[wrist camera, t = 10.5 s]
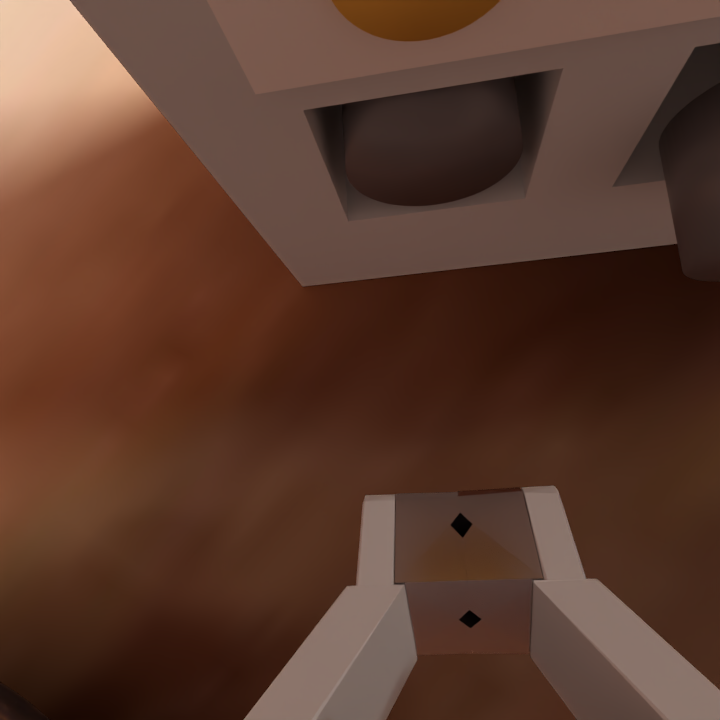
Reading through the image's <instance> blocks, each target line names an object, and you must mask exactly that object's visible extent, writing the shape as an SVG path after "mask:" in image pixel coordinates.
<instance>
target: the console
mask: <svg viewBox="0 0 720 720" xmlns="http://www.w3.org/2000/svg"><path fill="white" fill-rule="evenodd" d="M70 1H71V2H72V4H73V5H74V6H75V7H76V9H77V10H78V11H79V12H80V13H81V15H82V16H83V17H84V18H85V20H86V21H87V22H88V23H89V25H90V26H91V27H92V28H93V29H94V31H95V32H96V33H97V34H98V36H99V37H100V38H101V39H102V41H103V42H104V43H105V44H106V45H107V47H108V48H109V49H110V50H111V52H112V53H113V54H114V55H115V57H116V58H117V59H118V60H119V61H120V63H121V64H122V65H123V66H124V68H125V69H126V70H127V71H128V73H129V74H130V75H131V76H132V77H133V79H134V80H135V81H136V82H137V84H138V85H139V86H140V87H141V89H142V90H143V91H144V92H145V93H146V95H147V96H148V97H149V98H150V100H151V101H152V102H153V103H154V105H155V106H156V107H157V108H158V109H159V111H160V112H161V113H162V114H163V116H164V117H165V118H166V119H167V121H168V122H169V123H170V124H171V125H172V127H173V128H174V129H175V130H176V132H177V133H178V134H179V135H180V137H181V138H182V139H183V140H184V141H185V143H186V144H187V145H188V146H189V148H190V149H191V150H192V151H193V152H194V154H195V155H196V156H197V157H198V159H199V160H200V161H201V162H202V164H203V165H204V166H205V167H206V168H207V170H208V171H209V172H210V173H211V175H212V176H213V177H214V178H215V180H216V181H217V182H218V183H219V184H220V186H221V187H222V188H223V189H224V191H225V192H226V193H227V194H228V196H229V197H230V198H231V199H232V200H233V202H234V203H235V204H236V205H237V207H238V208H239V209H240V210H241V212H242V213H243V214H244V215H245V216H246V218H247V219H248V220H249V221H250V223H251V224H252V225H253V226H254V228H255V229H256V230H257V231H258V232H259V234H260V235H261V236H262V237H263V239H264V240H265V241H266V242H267V244H268V245H269V246H270V247H271V248H272V250H273V251H274V252H275V253H276V255H277V256H278V257H279V258H280V260H281V261H282V262H283V263H284V264H285V266H286V267H287V268H288V269H289V271H290V272H291V273H292V274H293V276H294V277H295V278H296V279H297V280H298V282H299V283H300V284H301V285H302V287H304V286H312V285H321V284H330V283H339V282H347V281H356V280H365V279H374V278H382V277H391V276H400V275H409V274H418V273H426V272H435V271H444V270H453V269H461V268H470V267H479V266H488V265H496V264H505V263H514V262H523V261H531V260H540V259H549V258H558V257H566V256H575V255H584V254H593V253H601V252H610V251H619V250H628V249H636V248H645V247H654V246H663V245H671V244H677V240H676V235H675V230H674V224H673V219H672V214H671V209H670V203H669V198H668V193H667V188H666V183H665V177H664V172H663V167H662V162H661V156H660V151H659V140H660V137H661V134H662V132H663V130H664V129H665V127H666V126H667V124H668V123H669V122H670V121H671V119H672V118H673V117H674V116H675V115H676V114H677V113H678V112H679V111H680V110H682V109H683V108H684V107H685V106H686V105H687V104H688V103H690V102H691V101H692V100H694V99H695V98H696V97H698V96H699V95H701V94H702V93H704V92H705V91H707V90H708V89H710V88H711V87H713V86H715V85H716V84H718V83H720V0H70ZM512 76H514V80H515V87H516V94H517V102H518V109H519V116H520V124H521V131H522V139H523V151H522V154H521V157H520V159H519V161H518V163H517V164H516V166H515V167H514V168H513V169H512V170H511V171H510V172H509V173H508V174H507V175H506V176H505V177H504V178H503V179H501V180H500V181H499V182H497V183H496V184H494V185H492V186H491V187H489V188H487V189H485V190H483V191H481V192H479V193H477V194H474V195H472V196H469V197H466V198H463V199H460V200H456V201H452V202H448V203H443V204H437V205H428V206H401V205H393V204H387V203H383V202H379V201H376V200H374V199H371V198H369V197H367V196H365V195H363V194H362V193H360V192H359V191H357V190H356V189H355V188H354V187H353V186H352V184H351V183H350V182H349V180H348V178H347V175H346V169H345V153H344V137H343V121H342V105H341V104H345V103H351V102H357V101H363V100H370V99H376V98H382V97H388V96H394V95H400V94H407V93H413V92H419V91H425V90H431V89H438V88H444V87H450V86H456V85H462V84H469V83H475V82H481V81H487V80H493V79H500V78H506V77H512Z"/></svg>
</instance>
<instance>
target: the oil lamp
mask: <svg viewBox="0 0 720 720" xmlns="http://www.w3.org/2000/svg"><path fill="white" fill-rule="evenodd" d="M0 720H50V719H49V718H48V717H47V716H45V715H44V714H43V713H42V712H40V711H39V710H38V709H37V708H36V707H35V706H33V705H32V704H31V703H30V702H28V701H27V700H26V699H25V698H23V697H21V696H20V695H19V694H18V693H16V692H15V691H14V690H12V689H10V688H9V687H7V686H6V685H4V684H2V683H1V682H0Z"/></svg>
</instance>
